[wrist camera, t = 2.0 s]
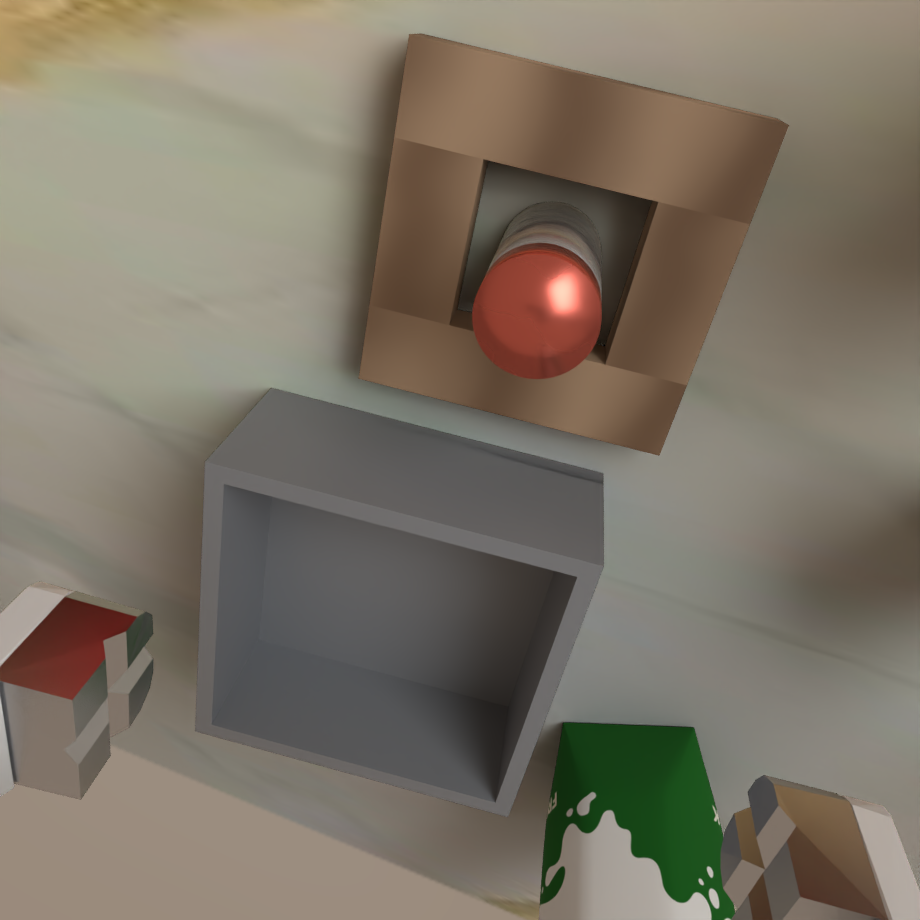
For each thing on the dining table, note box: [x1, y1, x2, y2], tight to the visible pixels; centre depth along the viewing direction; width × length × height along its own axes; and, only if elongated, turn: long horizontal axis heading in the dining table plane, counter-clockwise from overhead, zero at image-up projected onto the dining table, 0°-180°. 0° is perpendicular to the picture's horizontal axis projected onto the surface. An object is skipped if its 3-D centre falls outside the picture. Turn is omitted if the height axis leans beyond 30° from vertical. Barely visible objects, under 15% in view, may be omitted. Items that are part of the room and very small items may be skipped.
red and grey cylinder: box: [472, 202, 602, 379], centre depth 27 cm, size 4×4×8 cm
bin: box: [195, 388, 604, 817], centre depth 37 cm, size 16×16×7 cm
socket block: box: [359, 34, 789, 455], centre depth 30 cm, size 13×13×2 cm
